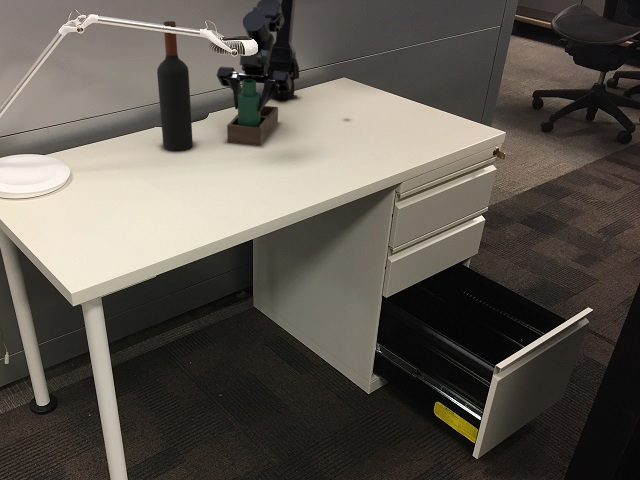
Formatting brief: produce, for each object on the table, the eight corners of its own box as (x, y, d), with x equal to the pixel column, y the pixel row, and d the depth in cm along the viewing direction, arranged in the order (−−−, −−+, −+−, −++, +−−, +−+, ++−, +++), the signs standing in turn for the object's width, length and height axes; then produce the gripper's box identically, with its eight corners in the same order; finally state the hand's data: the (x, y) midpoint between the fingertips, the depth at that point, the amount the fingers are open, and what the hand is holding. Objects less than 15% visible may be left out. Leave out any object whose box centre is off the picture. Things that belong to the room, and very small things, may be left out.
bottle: (235, 132, 177) (234, 79, 169) (255, 129, 178) (255, 76, 170) (242, 140, 172) (242, 85, 164) (263, 136, 174) (264, 83, 166)
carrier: (247, 120, 187) (247, 103, 184) (277, 123, 184) (278, 106, 182) (227, 142, 173) (227, 125, 171) (260, 145, 171) (260, 128, 168)
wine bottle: (157, 148, 171) (146, 24, 153) (173, 138, 176) (164, 17, 159) (182, 153, 168) (174, 27, 150) (198, 143, 173) (191, 20, 156)
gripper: (217, 33, 167) (204, 91, 165) (290, 38, 162) (277, 98, 160) (228, 57, 178) (216, 112, 176) (296, 62, 173) (284, 118, 171)
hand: (247, 109), depth 170 cm, fingers closed on bottle, 6 cm apart
